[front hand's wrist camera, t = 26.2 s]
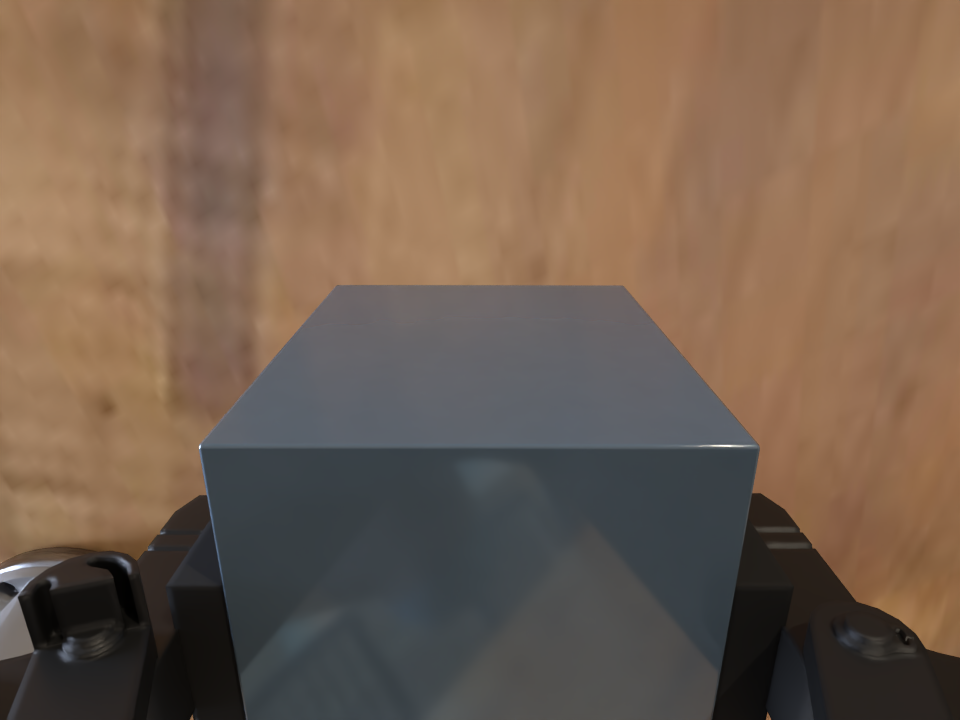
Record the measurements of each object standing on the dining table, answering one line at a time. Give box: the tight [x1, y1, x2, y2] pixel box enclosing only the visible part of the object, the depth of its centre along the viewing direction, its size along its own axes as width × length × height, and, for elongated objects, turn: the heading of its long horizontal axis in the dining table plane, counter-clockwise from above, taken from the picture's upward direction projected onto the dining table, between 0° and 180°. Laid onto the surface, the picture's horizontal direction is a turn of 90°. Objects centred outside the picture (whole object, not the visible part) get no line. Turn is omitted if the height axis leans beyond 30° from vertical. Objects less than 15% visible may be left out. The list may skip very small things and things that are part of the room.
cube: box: [199, 285, 760, 720], centre depth 12 cm, size 7×6×8 cm
